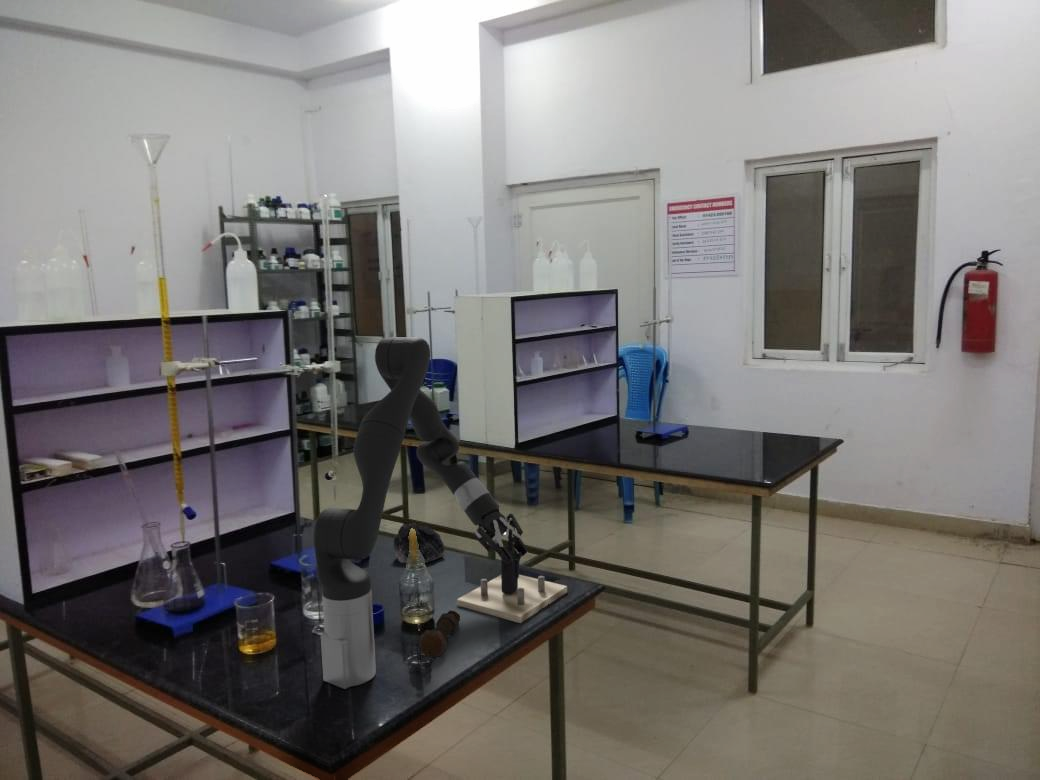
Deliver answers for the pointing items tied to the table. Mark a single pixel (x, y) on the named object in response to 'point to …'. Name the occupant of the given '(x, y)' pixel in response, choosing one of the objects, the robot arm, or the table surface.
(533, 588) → the peg cradle
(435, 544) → the crystal cluster
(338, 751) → the table surface
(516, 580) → the two-way radio
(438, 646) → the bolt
